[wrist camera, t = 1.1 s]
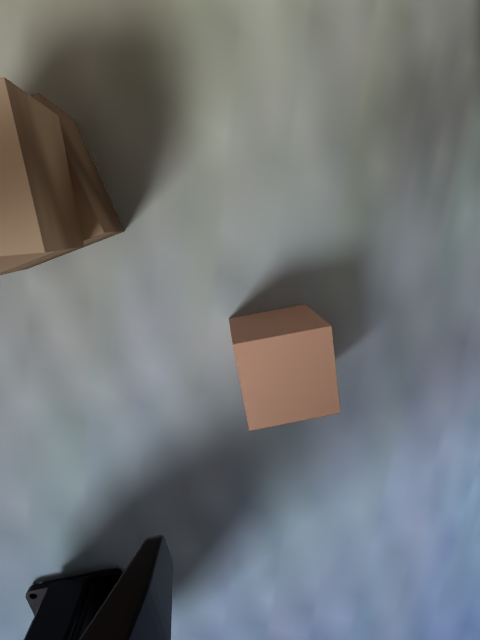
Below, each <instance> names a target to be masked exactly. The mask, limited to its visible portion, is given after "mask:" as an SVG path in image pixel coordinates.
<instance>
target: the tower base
mask: <svg viewBox="0 0 480 640" xmlns="http://www.w3.org/2000/svg"><path fill="white" fill-rule="evenodd" d="M31 97H33V98H34V99H36V100H37V101H38V102H40V103H41V104H43V105H44V106H46V107H47V108H48V109H50V110H51V111H53V112H54V113H55V114H57V115H58V116H59V121H60V126H61V131H62V136H63V141H64V146H65V151H66V156H67V161H68V166H69V171H70V176H71V181H72V186H73V191H74V196H75V201H76V206H77V211H78V216H79V221H80V226H81V231H82V236H83V241H84V247H85V246H88V245H90V244H93V243H95V242H98V241H101V240H103V239H106V238H108V237H111V236H114V235H116V234H119V233H121V232H124V230H123V228H122V225H121V223H120V221H119V219H118V217H117V214H116V212H115V210H114V208H113V206H112V203H111V201H110V199H109V197H108V195H107V192H106V190H105V188H104V186H103V183H102V181H101V179H100V177H99V175H98V172H97V170H96V168H95V166H94V164H93V161H92V159H91V157H90V155H89V153H88V150H87V148H86V146H85V144H84V142H83V139H82V137H81V135H80V133H79V130H78V128H77V126H76V124H75V122H74V119H72V118H71V117H70V116H68V115H67V114H66V113H64V112H63V111H62V110H60V109H59V108H58V107H56V106H55V105H54V104H52V103H51V102H50V101H48V100H47V99H46V98H44V97H43V96H42V95H40V94H39V93H38V94H35V95H33V96H31ZM80 248H83V247H78V248H71V249H65V250H58V251H52V252H45V253H33V254H21V255H9V256H0V275H3V274H7V273H11V272H16V271H20V270H24V269H28V268H31V267H33V266H36V265H38V264H41V263H44V262H46V261H49V260H51V259H54V258H57V257H59V256H62V255H64V254H67V253H70V252H72V251H75V250H77V249H80Z"/></svg>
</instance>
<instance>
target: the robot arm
mask: <svg viewBox="0 0 480 640" xmlns="http://www.w3.org/2000/svg"><path fill="white" fill-rule="evenodd" d="M172 578H173V565H172V559H171V556H170V553H169V549H168V546H167V543H166V540H165V538H164V536H162V535H159V536H154V537H149V538H147V539H146V540H145V541H144V542H143V544H142V545H141V547H140V548H139V550H138V552H137V553H136V555H135V556H134V558H133V559H132V561H131V562H130V564H129V565H128V567H127V568H126V570H125V571H124V573H123V572H122V571H121V570H120V569H110V570H105V571H100V572H95V573H90V574H85V575H80V576H75V577H70V578H65V579H60V580H55V581H50V582H45V583H41V584H36V585H32V586H31V587H29V589H28V591H27V593H26V599H27V601H28V603H29V605H30V607H31V609H32V611H33V613H34V615H35V616H34V619H33V621H32V623H31V625H30V627H29V629H28V632H27V634H26V636H25V638H24V640H171V614H172Z"/></svg>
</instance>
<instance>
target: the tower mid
mask: <svg viewBox="0 0 480 640" xmlns="http://www.w3.org/2000/svg"><path fill="white" fill-rule="evenodd" d="M78 247H84V241H83V236H82V231H81V226H80V221H79V216H78V211H77V206H76V201H75V196H74V191H73V186H72V181H71V176H70V171H69V166H68V161H67V156H66V151H65V146H64V141H63V136H62V131H61V126H60V121H59V116H58V115H57V114H55V113H54V112H53V111H51V110H50V109H48V108H47V107H46V106H44V105H43V104H41V103H40V102H38V101H37V100H36V99H34V98H33V97H31V96H30V95H29V94H27V93H26V92H24V91H23V90H21V89H20V88H19V87H17V86H16V85H14V84H13V83H12V82H10V81H9V80H7V79H6V78H4V77H2V78H0V256H9V255H21V254H33V253H45V252H52V251H58V250H65V249H71V248H78Z"/></svg>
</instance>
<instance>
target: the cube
mask: <svg viewBox="0 0 480 640" xmlns="http://www.w3.org/2000/svg"><path fill="white" fill-rule="evenodd" d="M229 322H230V329H231V336H232V342H233V348H234V353H235V359H236V364H237V369H238V374H239V380H240V385H241V390H242V395H243V401H244V406H245V411H246V416H247V422H248V427H249V431H251V430H256V429H261V428H267V427H272V426H277V425H282V424H287V423H292V422H298V421H303V420H308V419H313V418H318V417H323V416H328V415H334V414H339V413H340V405H339V395H338V385H337V375H336V365H335V355H334V345H333V335H332V326H331V325H330V324H329V323H328V322H326V321H325V320H324V319H323V318H322V317H321V316H319V315H318V314H317V313H316V312H315V311H314V310H312V309H311V308H310V307H309V306H308V305H307V304H303V305H298V306H292V307H287V308H282V309H276V310H271V311H266V312H260V313H255V314H249V315H244V316H239V317H233V318H229Z"/></svg>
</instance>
